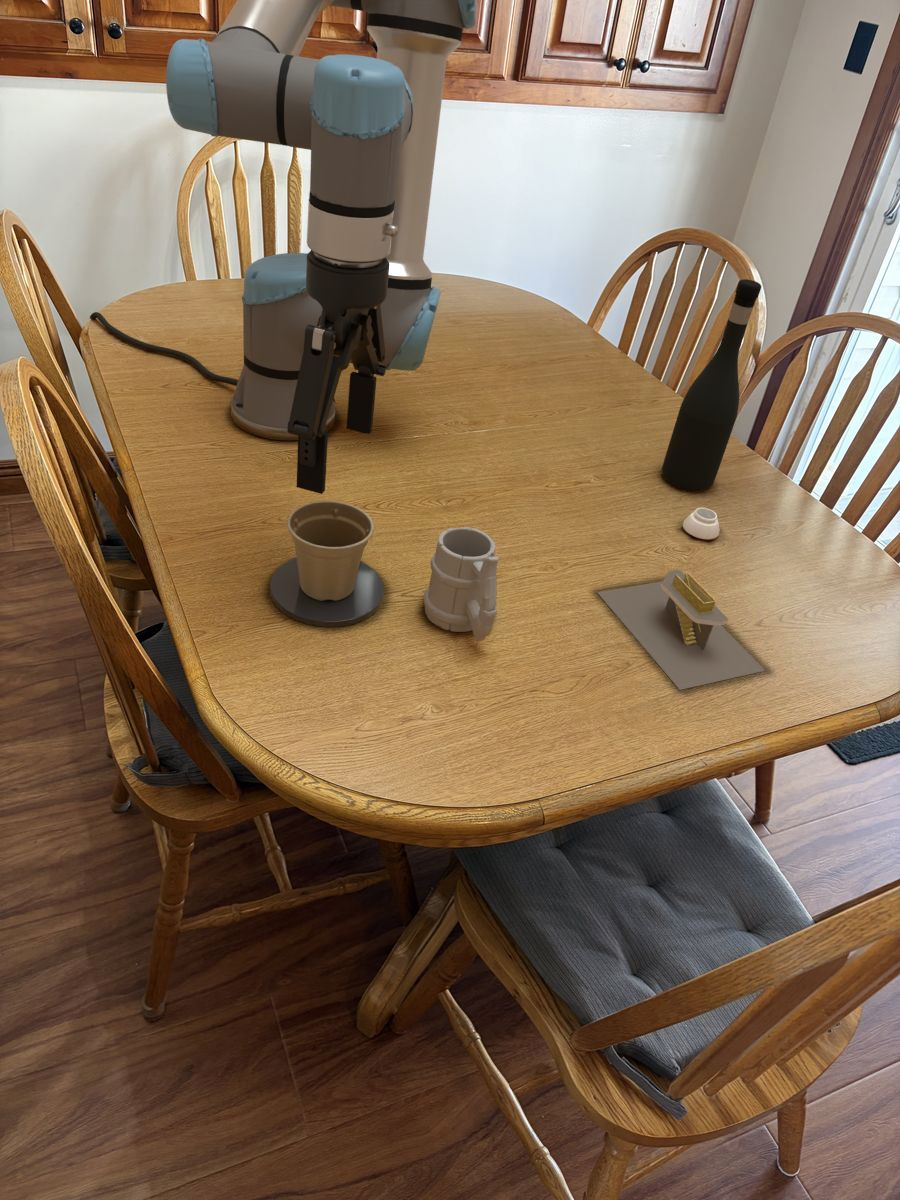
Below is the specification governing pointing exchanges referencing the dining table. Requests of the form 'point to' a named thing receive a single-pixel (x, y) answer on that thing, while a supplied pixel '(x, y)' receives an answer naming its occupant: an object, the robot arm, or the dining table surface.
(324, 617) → the coaster
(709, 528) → the small white bowl
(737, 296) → the wine bottle
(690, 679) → the platform
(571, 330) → the dining table surface
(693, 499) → the dining table surface
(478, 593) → the mug
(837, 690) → the dining table surface
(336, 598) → the flower pot
